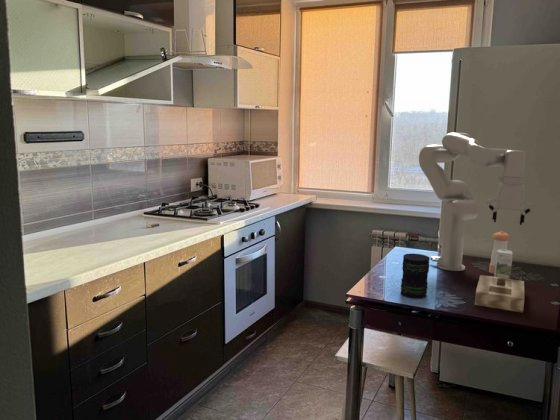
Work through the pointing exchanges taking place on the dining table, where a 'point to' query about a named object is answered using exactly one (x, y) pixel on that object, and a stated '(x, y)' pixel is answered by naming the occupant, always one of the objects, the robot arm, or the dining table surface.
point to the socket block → (500, 293)
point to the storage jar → (415, 276)
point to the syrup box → (503, 264)
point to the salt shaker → (498, 247)
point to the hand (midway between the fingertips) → (507, 222)
